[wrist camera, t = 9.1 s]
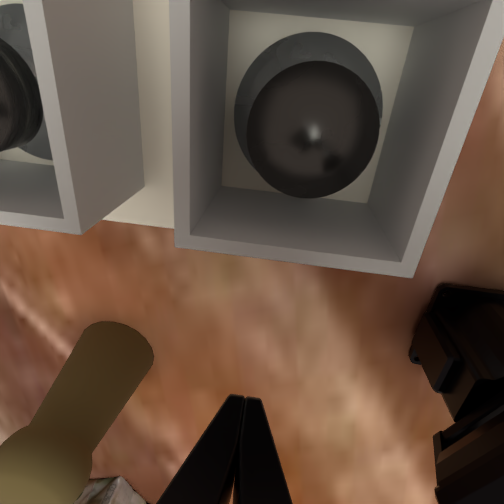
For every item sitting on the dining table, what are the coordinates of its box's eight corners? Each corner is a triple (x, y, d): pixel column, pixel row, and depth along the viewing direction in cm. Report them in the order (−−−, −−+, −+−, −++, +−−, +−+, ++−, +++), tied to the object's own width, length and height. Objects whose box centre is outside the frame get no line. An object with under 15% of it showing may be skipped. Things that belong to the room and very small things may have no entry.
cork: (75, 316, 26) (-56, 461, 16) (152, 327, 25) (65, 482, 16) (86, 371, 29) (-20, 523, 19) (155, 382, 28) (84, 542, 19)
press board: (517, -51, 14) (728, -168, 7) (409, 251, 20) (466, 337, 14) (-125, -102, 15) (-449, -238, 8) (-29, 195, 22) (-169, 248, 15)
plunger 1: (105, 13, 15) (13, -17, 10) (120, 164, 18) (55, 198, 13) (-37, 0, 16) (-195, -36, 10) (2, 150, 19) (-105, 177, 14)
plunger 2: (397, 41, 14) (452, 23, 9) (359, 192, 18) (385, 239, 13) (241, 26, 15) (215, 2, 10) (232, 177, 18) (208, 216, 13)
